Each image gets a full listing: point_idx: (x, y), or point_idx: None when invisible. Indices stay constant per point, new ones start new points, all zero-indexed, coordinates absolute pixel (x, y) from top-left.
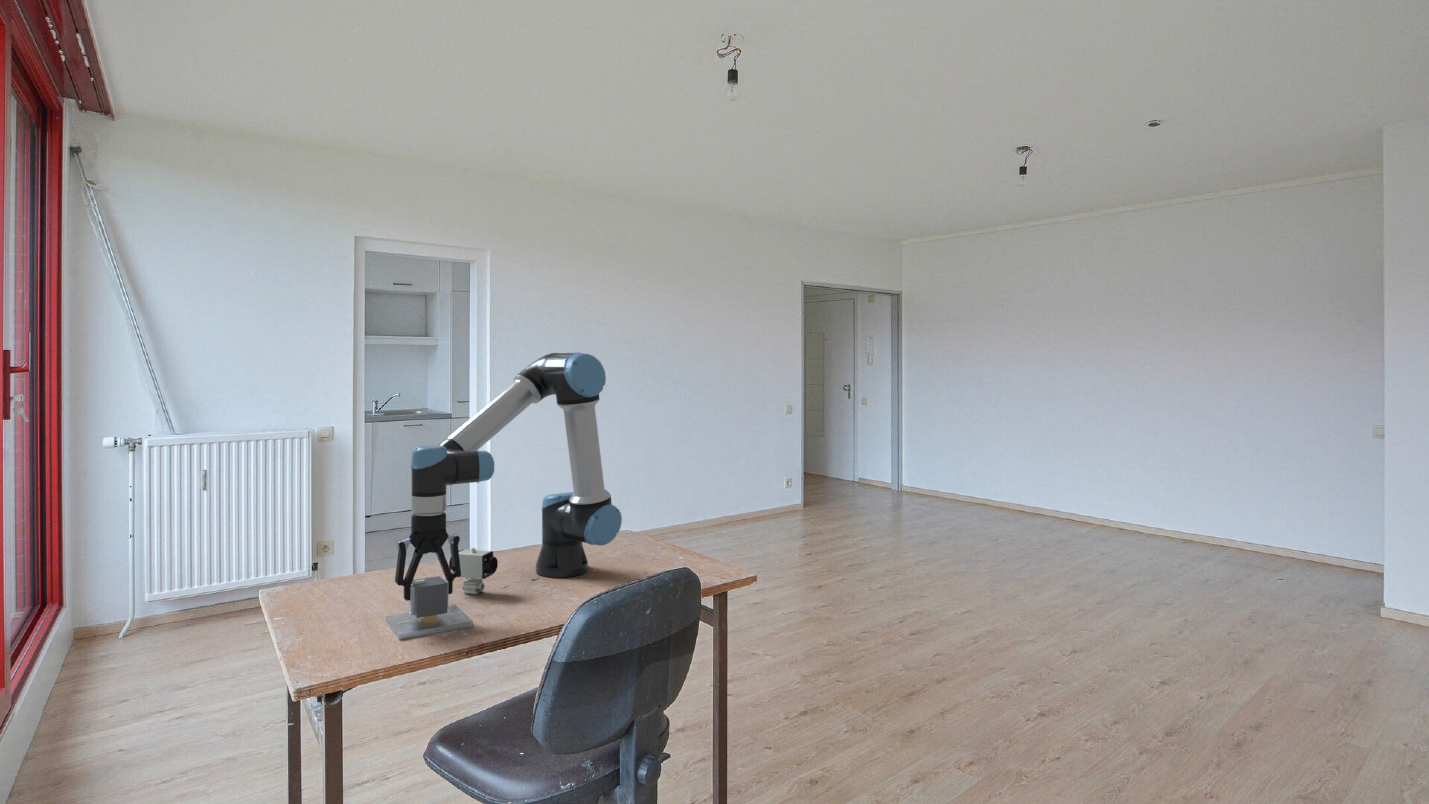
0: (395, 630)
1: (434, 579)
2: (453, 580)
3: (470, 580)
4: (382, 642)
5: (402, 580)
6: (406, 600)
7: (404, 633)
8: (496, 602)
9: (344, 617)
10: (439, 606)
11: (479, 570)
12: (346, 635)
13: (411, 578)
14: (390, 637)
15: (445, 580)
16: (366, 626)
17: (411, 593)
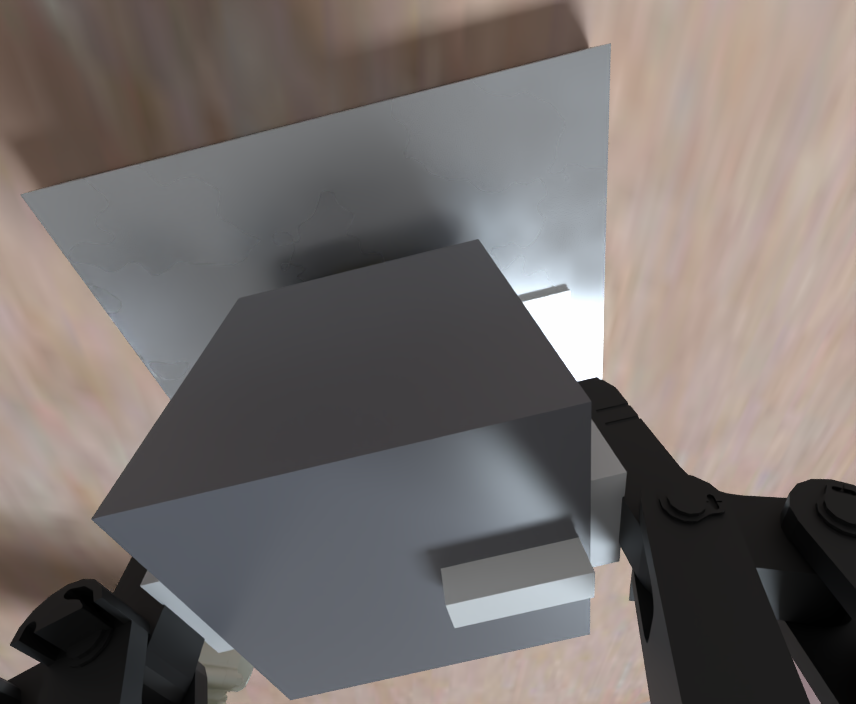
0: (602, 188)
1: (334, 639)
2: (45, 602)
3: (210, 694)
4: (700, 38)
5: (843, 556)
6: (592, 379)
7: (569, 54)
8: (51, 537)
9: (716, 482)
10: (288, 312)
11: None
12: (809, 267)
13: (701, 604)
14: (627, 138)
15: (201, 622)
16: (682, 368)
17: None
